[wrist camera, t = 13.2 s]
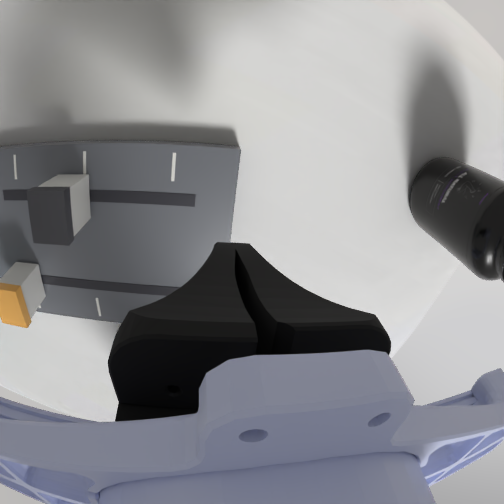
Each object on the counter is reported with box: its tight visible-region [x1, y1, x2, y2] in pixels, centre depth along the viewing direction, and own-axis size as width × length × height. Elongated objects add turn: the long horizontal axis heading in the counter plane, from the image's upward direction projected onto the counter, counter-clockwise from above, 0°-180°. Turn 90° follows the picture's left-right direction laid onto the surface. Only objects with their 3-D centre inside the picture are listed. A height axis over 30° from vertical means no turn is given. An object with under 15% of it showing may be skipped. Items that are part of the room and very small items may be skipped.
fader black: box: [27, 174, 91, 246], centre depth 16 cm, size 3×3×4 cm
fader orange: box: [0, 262, 46, 328], centre depth 18 cm, size 3×3×4 cm
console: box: [0, 140, 241, 323], centre depth 20 cm, size 14×20×2 cm
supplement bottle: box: [410, 157, 504, 282], centre depth 17 cm, size 7×7×12 cm
